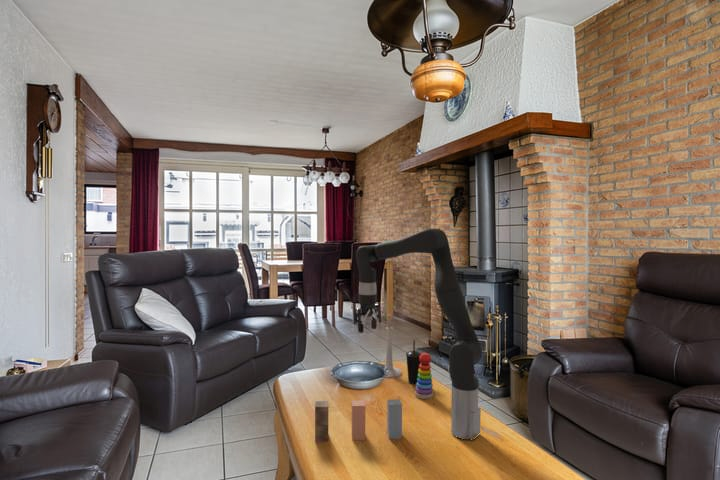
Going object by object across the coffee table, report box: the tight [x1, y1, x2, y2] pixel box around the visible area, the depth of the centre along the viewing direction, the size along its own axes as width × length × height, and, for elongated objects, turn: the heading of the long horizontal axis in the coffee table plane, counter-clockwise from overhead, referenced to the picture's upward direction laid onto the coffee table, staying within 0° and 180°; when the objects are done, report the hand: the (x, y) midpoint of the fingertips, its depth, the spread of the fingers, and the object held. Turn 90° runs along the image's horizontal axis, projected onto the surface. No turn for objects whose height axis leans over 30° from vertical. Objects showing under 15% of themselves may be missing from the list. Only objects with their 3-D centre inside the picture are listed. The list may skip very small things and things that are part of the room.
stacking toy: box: [414, 352, 434, 400], centre depth 177 cm, size 8×8×19 cm
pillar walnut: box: [314, 400, 329, 443], centre depth 142 cm, size 4×4×12 cm
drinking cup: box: [405, 340, 422, 385], centre depth 192 cm, size 8×8×20 cm
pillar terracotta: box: [351, 399, 366, 441], centre depth 143 cm, size 4×4×12 cm
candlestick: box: [384, 313, 403, 379], centre depth 204 cm, size 13×13×30 cm
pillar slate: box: [386, 398, 403, 440], centre depth 144 cm, size 4×4×12 cm
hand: (367, 330), depth 174 cm, fingers open, 8 cm apart
